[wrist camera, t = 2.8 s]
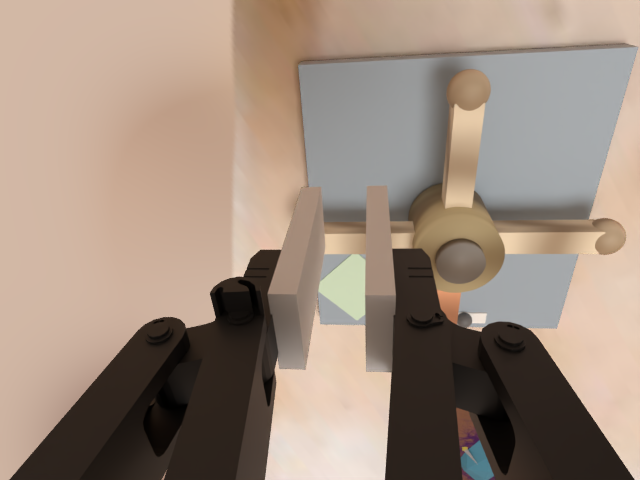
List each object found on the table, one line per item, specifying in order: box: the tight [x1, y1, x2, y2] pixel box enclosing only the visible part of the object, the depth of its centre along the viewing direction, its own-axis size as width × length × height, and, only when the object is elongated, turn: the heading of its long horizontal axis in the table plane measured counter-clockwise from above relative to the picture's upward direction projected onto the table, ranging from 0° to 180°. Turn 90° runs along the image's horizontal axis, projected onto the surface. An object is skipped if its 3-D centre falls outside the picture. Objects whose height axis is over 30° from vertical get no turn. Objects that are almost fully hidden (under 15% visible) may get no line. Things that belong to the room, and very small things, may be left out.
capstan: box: [324, 69, 626, 324], centre depth 32 cm, size 24×24×7 cm
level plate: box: [298, 44, 638, 328], centre depth 35 cm, size 24×22×3 cm
